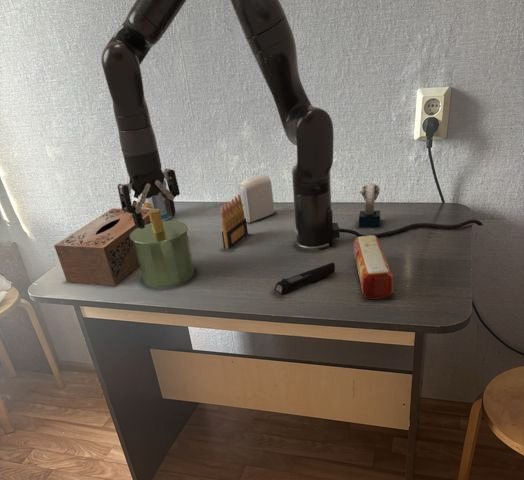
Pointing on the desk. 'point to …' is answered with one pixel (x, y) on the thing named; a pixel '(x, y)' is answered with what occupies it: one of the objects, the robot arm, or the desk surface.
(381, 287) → the snack package
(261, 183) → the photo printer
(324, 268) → the electric trimmer
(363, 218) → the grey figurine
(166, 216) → the beverage bottle
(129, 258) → the tissue box cover
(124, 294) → the desk surface
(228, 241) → the ammunition clip
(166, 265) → the canister
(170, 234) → the lid
